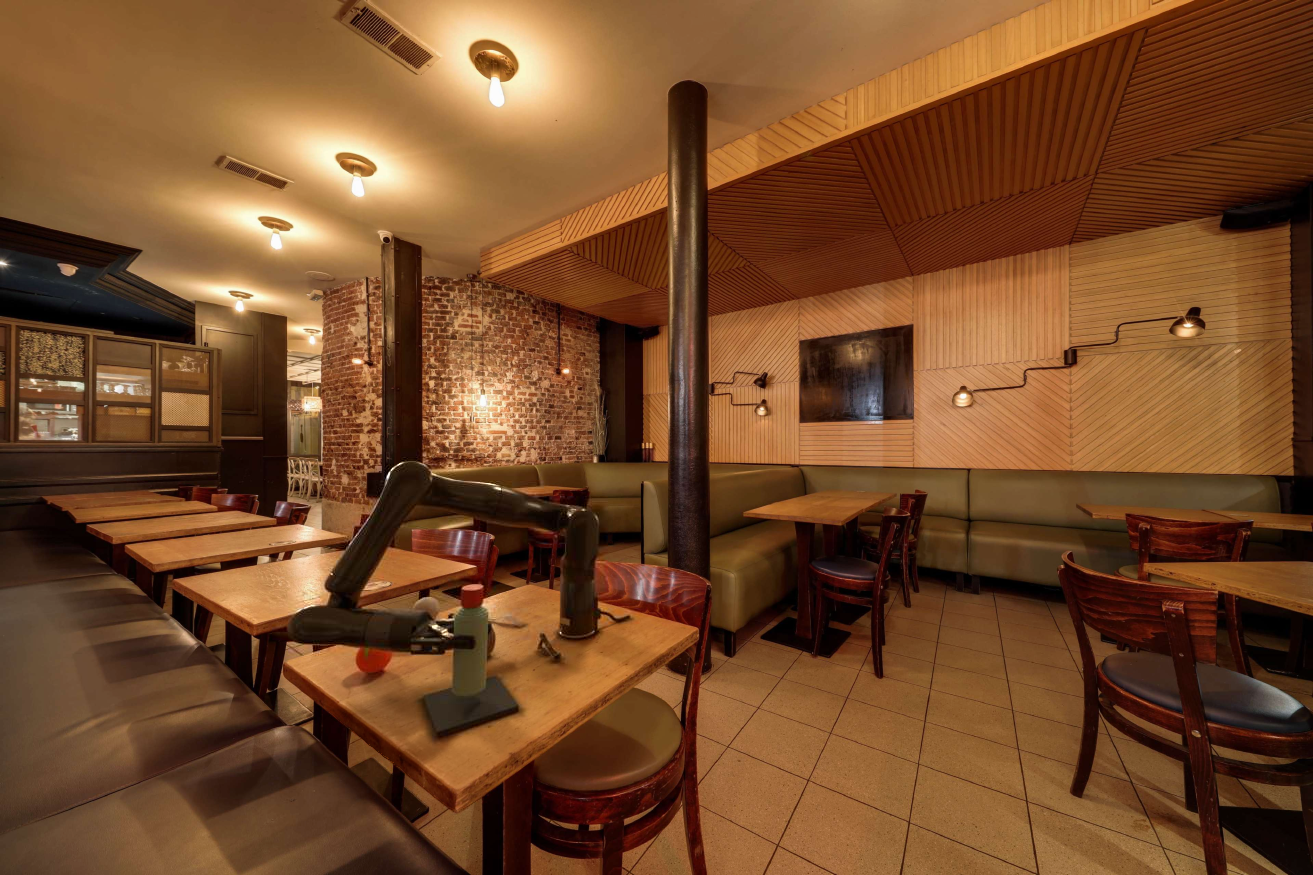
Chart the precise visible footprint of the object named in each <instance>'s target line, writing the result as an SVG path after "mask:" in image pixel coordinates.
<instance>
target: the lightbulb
mask: <svg viewBox="0 0 1313 875" xmlns="http://www.w3.org/2000/svg"><path fill="white" fill-rule="evenodd" d="M412 610H421V611H427V612H429V613H430V615H431V617H432V618H433V619H434V620H436V619H437V618H438V615H439V613H440V610H441V607H440V603H439V602H438V600H437V599H436V598H434V597H430V596H426V597H422V598H420V599H418V600H417V601H416V602H415V604H414V605H413V608H412Z"/></svg>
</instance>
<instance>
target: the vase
mask: <svg viewBox="0 0 1313 875" xmlns="http://www.w3.org/2000/svg"><path fill="white" fill-rule="evenodd" d="M496 639H497V637H496V632H495V629H494V627H492V632H491V633H490V634H489V635H488V637H487V658H489V656H490V655H491V654H492V653H493V652H494V649H495V646H496V642H497V640H496Z"/></svg>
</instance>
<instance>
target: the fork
mask: <svg viewBox="0 0 1313 875" xmlns="http://www.w3.org/2000/svg"><path fill="white" fill-rule="evenodd" d="M498 619H504V620H507V621H509V622H511V623H513V624H514V625H516V626H517V627H519V628H521V627H523V626H525V623H523V622H522V621H521V620H519V619H518V618H516V617H515V616H514V615H512V614H509V613H507V614H502V615H501V616H499V617H489V616H488V620H491V621H492V620H493V621H494V620H498Z"/></svg>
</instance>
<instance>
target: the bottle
mask: <svg viewBox="0 0 1313 875" xmlns="http://www.w3.org/2000/svg"><path fill="white" fill-rule="evenodd" d="M488 617H489V610H488V609H487V608H486V607H485V606H484V605H483V604H482V605H481V606H479V607H475V608H464V607H462V606H461V607H460V608H458V610H457V611H456V612H455V616H454V637H455V636H456V635H467V636H475V637H476V647H475V648H474V649H472V650H469V649H453V650H452V670H451V671H452V673H451V687H452V693H453V694H455V695H457V696H470V695H474V694H477V693H479V692H481V691H482V690H483V689H484V688H485V686H486V678H487V663H488V662H487V660H488V659H487V658H488V657H487V637H488V622H489V619H488Z"/></svg>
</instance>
